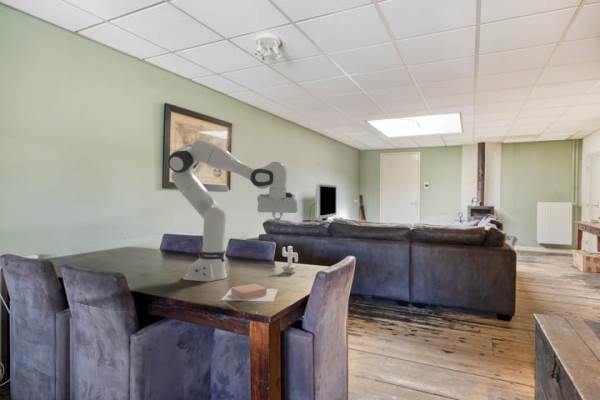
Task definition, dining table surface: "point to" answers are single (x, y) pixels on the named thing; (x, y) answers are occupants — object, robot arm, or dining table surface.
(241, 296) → the tile
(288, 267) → the figurine
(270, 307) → the dining table surface
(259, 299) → the mat
